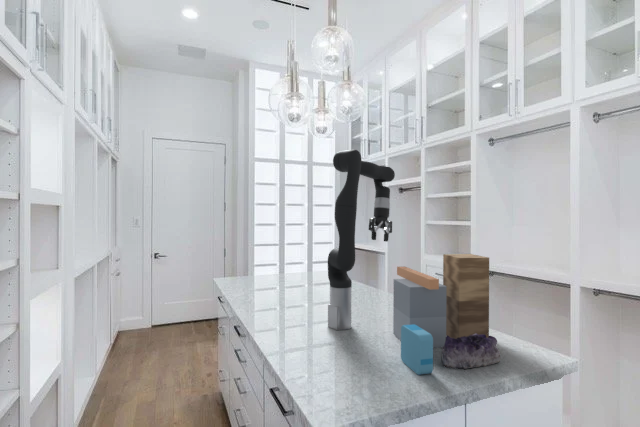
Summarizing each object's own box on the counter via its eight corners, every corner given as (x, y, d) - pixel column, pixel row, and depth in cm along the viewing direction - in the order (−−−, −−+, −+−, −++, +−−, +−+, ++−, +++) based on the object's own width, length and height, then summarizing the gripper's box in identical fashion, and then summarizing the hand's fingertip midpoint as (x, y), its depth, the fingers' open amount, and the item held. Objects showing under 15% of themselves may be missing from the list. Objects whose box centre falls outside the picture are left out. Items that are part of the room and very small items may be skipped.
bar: (438, 289, 122) (438, 279, 122) (429, 289, 122) (429, 279, 122) (404, 274, 152) (404, 266, 152) (397, 274, 151) (397, 266, 151)
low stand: (446, 347, 127) (446, 286, 127) (409, 349, 125) (409, 287, 125) (426, 332, 143) (426, 278, 143) (393, 333, 141) (393, 279, 141)
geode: (461, 377, 104) (457, 342, 105) (434, 366, 115) (430, 335, 116) (508, 362, 113) (504, 330, 114) (479, 354, 123) (475, 325, 124)
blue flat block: (433, 375, 105) (433, 335, 105) (419, 376, 104) (419, 336, 104) (412, 359, 117) (413, 322, 117) (400, 360, 115) (400, 323, 115)
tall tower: (488, 342, 132) (489, 257, 132) (459, 344, 130) (459, 258, 130) (470, 332, 143) (470, 253, 143) (442, 333, 142) (443, 254, 142)
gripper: (377, 205, 165) (375, 239, 164) (397, 209, 174) (395, 242, 172) (366, 206, 171) (364, 239, 170) (385, 210, 180) (383, 241, 178)
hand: (379, 240), depth 171 cm, fingers open, 8 cm apart
